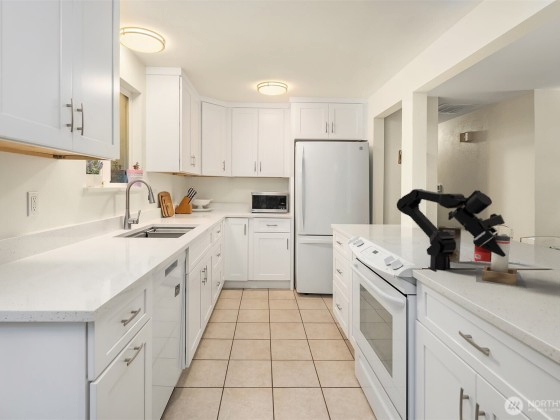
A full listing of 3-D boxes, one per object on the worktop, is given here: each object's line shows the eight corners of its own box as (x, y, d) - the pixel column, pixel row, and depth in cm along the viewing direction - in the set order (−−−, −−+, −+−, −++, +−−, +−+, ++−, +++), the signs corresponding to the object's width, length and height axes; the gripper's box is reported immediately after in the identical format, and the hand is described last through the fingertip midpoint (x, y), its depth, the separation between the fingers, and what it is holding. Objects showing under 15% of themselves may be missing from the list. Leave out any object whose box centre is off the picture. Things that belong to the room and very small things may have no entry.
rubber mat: (527, 290, 99) (527, 288, 99) (475, 283, 107) (475, 281, 107) (518, 274, 120) (518, 272, 120) (475, 269, 127) (475, 267, 127)
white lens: (498, 275, 106) (500, 237, 105) (486, 271, 111) (488, 235, 110) (511, 274, 107) (514, 237, 106) (499, 270, 112) (501, 235, 111)
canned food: (494, 264, 136) (495, 239, 135) (473, 262, 140) (474, 238, 140) (495, 261, 142) (496, 237, 141) (474, 259, 146) (475, 236, 146)
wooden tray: (481, 280, 108) (482, 270, 108) (484, 274, 116) (485, 265, 115) (516, 285, 102) (516, 275, 102) (516, 279, 110) (517, 269, 110)
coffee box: (436, 262, 140) (437, 227, 139) (437, 259, 145) (438, 225, 144) (459, 264, 135) (460, 228, 134) (460, 262, 140) (461, 226, 139)
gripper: (486, 207, 102) (527, 244, 96) (491, 205, 117) (526, 237, 111) (458, 229, 108) (495, 265, 102) (466, 224, 123) (498, 255, 116)
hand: (505, 254), depth 108 cm, fingers closed on white lens, 5 cm apart
